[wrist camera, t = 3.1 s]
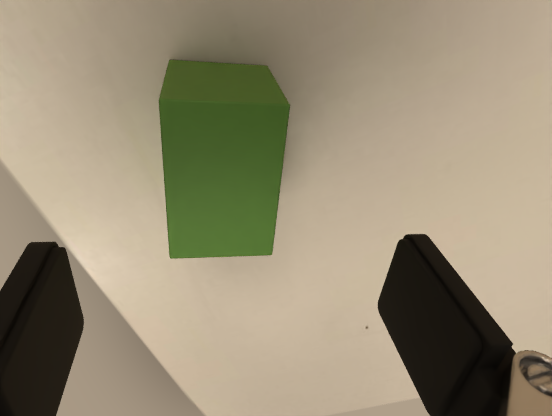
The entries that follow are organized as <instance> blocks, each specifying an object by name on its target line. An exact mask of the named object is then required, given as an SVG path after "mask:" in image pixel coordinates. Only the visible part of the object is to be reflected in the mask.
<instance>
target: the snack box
mask: <svg viewBox="0 0 552 416" xmlns="http://www.w3.org/2000/svg"><path fill="white" fill-rule="evenodd" d="M289 110H290V104H289V103H288V101H287V99H286V97H285V96H284V94H283V92H282V90H281V89H280V87H279V85H278V83H277V82H276V80H275V78H274V77H273V75H272V73H271V71H270V70H269V68H268V66H264V65H247V64H231V63H215V62H199V61H182V60H169V63H168V67H167V70H166V74H165V78H164V82H163V86H162V90H161V94H160V97H159V111H160V125H161V140H162V154H163V169H164V183H165V198H166V212H167V226H168V241H169V255H170V258H171V259H172V258H201V257H231V256H261V255H272V251H273V243H274V235H275V226H276V218H277V210H278V201H279V193H280V185H281V176H282V168H283V160H284V151H285V143H286V135H287V126H288V118H289Z"/></svg>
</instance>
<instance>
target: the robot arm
mask: <svg viewBox="0 0 552 416" xmlns="http://www.w3.org/2000/svg"><path fill="white" fill-rule="evenodd" d="M378 310H379V313H380V316H381V318H382V320H383V322H384V324H385V326H386V328H387V330H388V332H389V334H390V336H391V338H392V340H393V342H394V344H395V346H396V349H397V351H398V353H399V355H400V357H401V359H402V361H403V363H404V365H405V367H406V369H407V371H408V373H409V375H410V377H411V379H412V381H413V383H414V385H415V387H416V390H417V392H418V394H419V396H420V398H421V400H422V402H423V404H424V406H425V408H426V410H427V412H428V413H429V414H430V416H552V358H551V357H549V356H547V355H545V354H542V353H539V352H536V351H529V350H525V351H519V352H518V353H517V354H516V353H515V351H514V350H513V349H512V347H511V346H512V345H513V343H512V342H511V341H510V339H509V338H508V337H507V336H506V334H505V333H504V332H503V330H502V329H501V328H500V327H499V325H498V324H497V323H496V322H495V320H494V319H493V318H492V317H491V315H490V314H489V313H488V311H487V310H486V309H485V308H484V306H483V305H482V304H481V303H480V301H479V300H478V299H477V298H476V296H475V295H474V294H473V292H472V291H471V290H470V289H469V287H468V286H467V285H466V284H465V282H464V281H463V280H462V279H461V277H460V276H459V275H458V273H457V272H456V271H455V270H454V268H453V267H452V266H451V265H450V263H449V262H448V261H447V260H446V258H445V257H444V256H443V254H442V253H441V252H440V251H439V249H438V248H437V247H436V246H435V244H434V243H433V242H432V241H431V239H430V238H429V237H428V236H427V235H425V234H408V235H405V236H404V238H403V239H401V240H399V242H398V244H397V247H396V250H395V253H394V256H393V259H392V262H391V265H390V268H389V271H388V274H387V277H386V280H385V283H384V285H383V288H382V291H381V294H380V297H379V300H378ZM83 325H84V319H83V314H82V310H81V306H80V303H79V298H78V295H77V291H76V287H75V283H74V279H73V276H72V271H71V268H70V264H69V259H68V256H67V252H66V249H65V248H64V247H59V246H58V244H57V243H56V242H31V243H29V244H28V245H27V247H26V249H25V250H24V252H23V254H22V255H21V257H20V259H19V260H18V262H17V264H16V265H15V267H14V269H13V270H12V272H11V274H10V275H9V277H8V279H7V281H6V282H5V284H4V286H3V287H2V289H1V291H0V416H56V414H57V411H58V407H59V404H60V401H61V398H62V395H63V391H64V388H65V385H66V382H67V379H68V376H69V372H70V369H71V366H72V363H73V360H74V357H75V353H76V350H77V347H78V344H79V341H80V338H81V335H82V331H83Z"/></svg>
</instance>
